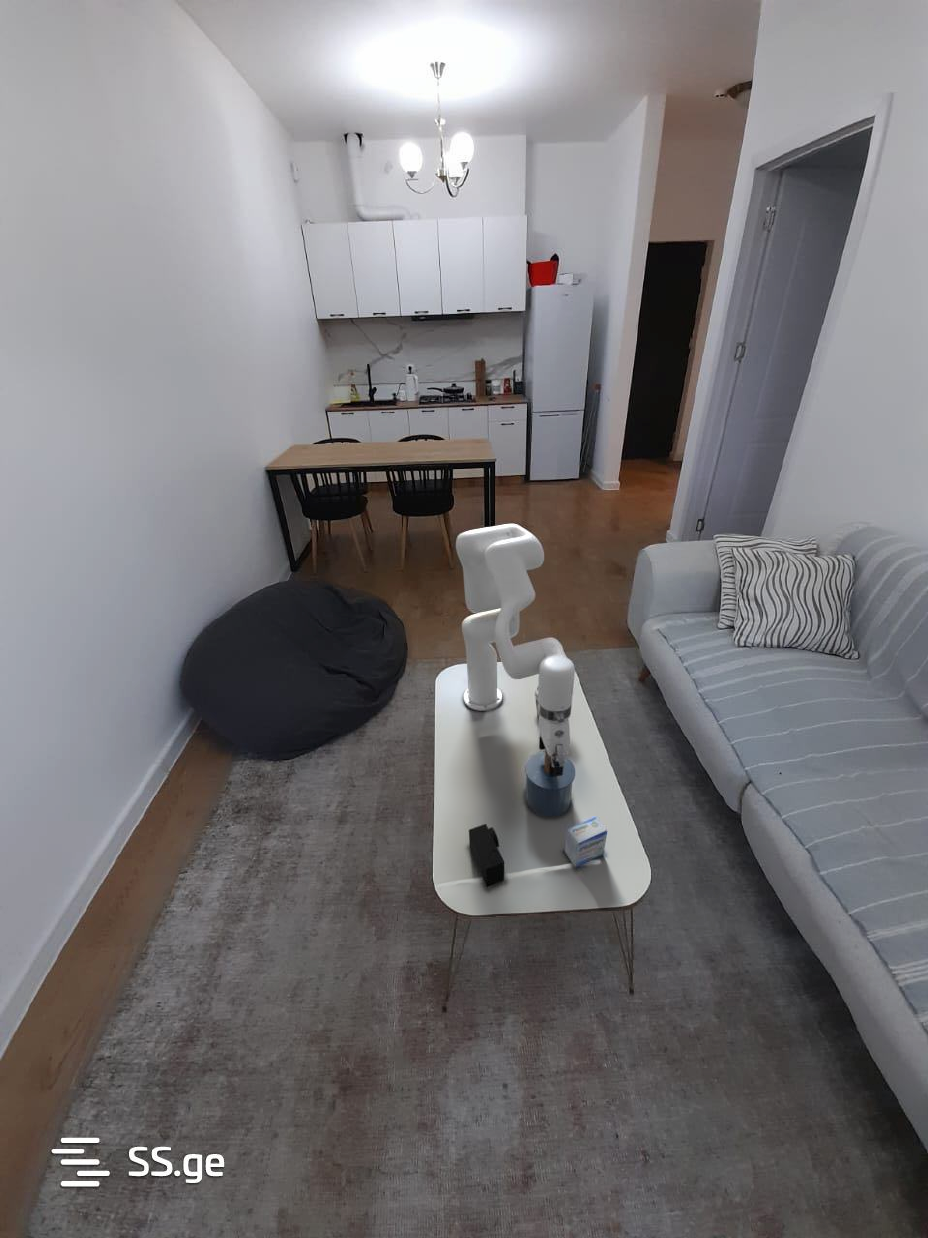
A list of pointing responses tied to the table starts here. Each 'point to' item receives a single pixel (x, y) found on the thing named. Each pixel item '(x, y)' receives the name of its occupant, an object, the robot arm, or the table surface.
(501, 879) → the digital camera
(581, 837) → the medicine box
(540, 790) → the cup
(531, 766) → the lid
